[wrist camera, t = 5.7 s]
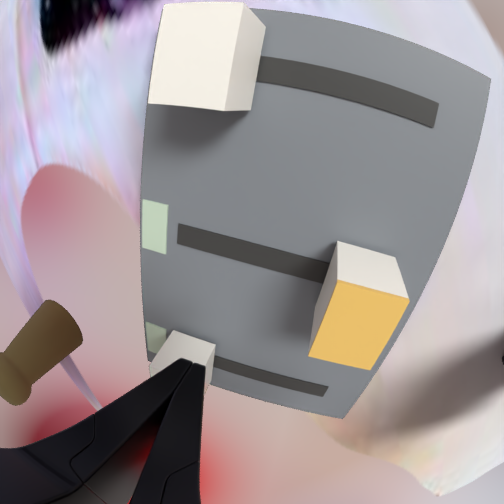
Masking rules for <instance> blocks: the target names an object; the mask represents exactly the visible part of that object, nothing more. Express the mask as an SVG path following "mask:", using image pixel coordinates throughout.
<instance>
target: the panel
mask: <svg viewBox="0 0 504 504" xmlns="http://www.w3.org/2000/svg"><path fill="white" fill-rule="evenodd" d="M250 10H251V11H252V12H253V13H254V14H255V15H256V16H257V17H258V18H259V20H260V21H261V22H262V23H263V24H264V25H265V26H266V29H265V35H264V40H263V45H262V50H261V56H260V61H259V67H258V72H257V78H256V83H255V89H254V94H253V100H252V106H251V110H239V111H220V110H213V109H205V108H196V107H187V106H176V105H164V104H150V103H148V99H147V108H146V118H145V129H144V141H143V155H142V173H141V202H140V248H141V249H140V252H141V282H142V300H143V315H144V328H145V338H146V348H147V357H148V361H150V362H152V361H153V359H154V358H155V356H156V355H157V353H158V352H159V350H160V349H161V347H162V346H163V344H164V343H165V342H166V340H167V339H168V337H169V336H170V334H171V333H172V331H173V330H175V331H178V332H181V333H183V334H186V335H189V336H192V337H195V338H198V339H201V340H204V341H207V342H210V343H213V344H216V346H215V354H214V362H213V370H212V379H211V382H210V384H211V385H213V386H216V387H220V388H222V389H226V390H229V391H232V392H235V393H238V394H242V395H245V396H248V397H252V398H255V399H259V400H263V401H266V402H270V403H274V404H277V405H281V406H285V407H289V408H294V409H298V410H302V411H306V412H311V413H315V414H320V415H325V416H330V417H335V418H341V419H343V418H344V417H345V416H346V414H347V413H348V412H349V410H350V409H351V408H352V406H353V405H354V403H355V402H356V401H357V399H358V398H359V397H360V395H361V394H362V392H363V391H364V389H365V388H366V387H367V385H368V384H369V382H370V381H371V379H372V378H373V376H374V375H375V373H376V372H377V370H378V369H379V367H380V366H381V364H382V362H383V361H384V359H385V358H386V356H387V355H388V353H389V351H390V350H391V348H392V346H393V345H394V343H395V341H396V340H397V338H398V336H399V335H400V333H401V331H402V329H403V328H404V326H405V324H406V322H407V320H408V319H409V317H410V315H411V313H412V311H413V309H414V308H415V306H416V304H417V302H418V300H419V298H420V296H421V294H422V292H423V290H424V288H425V286H426V284H427V282H428V280H429V278H430V276H431V274H432V271H433V269H434V267H435V265H436V263H437V260H438V258H439V256H440V254H441V251H442V249H443V247H444V244H445V242H446V240H447V237H448V235H449V232H450V230H451V227H452V224H453V222H454V219H455V217H456V214H457V211H458V208H459V206H460V203H461V200H462V197H463V194H464V191H465V188H466V185H467V182H468V179H469V175H470V172H471V169H472V165H473V162H474V158H475V154H476V151H477V147H478V143H479V139H480V135H481V130H482V126H483V121H484V117H485V112H486V107H487V101H488V95H489V89H490V83H491V78H489V77H487V76H485V75H483V74H482V73H480V72H478V71H476V70H474V69H472V68H470V67H468V66H466V65H464V64H462V63H460V62H458V61H456V60H454V59H451V58H449V57H447V56H445V55H442V54H440V53H438V52H435V51H433V50H431V49H428V48H426V47H423V46H421V45H418V44H415V43H413V42H410V41H407V40H404V39H401V38H398V37H395V36H392V35H389V34H386V33H383V32H380V31H376V30H373V29H369V28H366V27H362V26H358V25H354V24H350V23H346V22H342V21H337V20H332V19H328V18H322V17H317V16H311V15H305V14H299V13H292V12H284V11H276V10H266V9H253V8H250ZM162 12H163V9H162ZM161 17H162V13H161ZM160 22H161V18H160ZM159 27H160V23H159ZM158 32H159V28H158ZM157 38H158V33H157ZM156 43H157V39H156ZM155 49H156V44H155ZM154 55H155V50H154ZM153 61H154V56H153ZM152 68H153V63H152ZM151 74H152V69H151ZM150 82H151V76H150ZM149 89H150V83H149ZM148 97H149V91H148ZM337 241H340V242H344V243H347V244H351V245H354V246H358V247H362V248H365V249H369V250H372V251H376V252H379V253H382V254H386V255H389V256H393V257H395V258H396V261H397V264H398V267H399V270H400V273H401V276H402V279H403V282H404V285H405V288H406V291H407V294H408V298H409V301H410V302H409V304H408V306H407V307H406V309H405V311H404V313H403V315H402V317H401V319H400V321H399V322H398V324H397V326H396V328H395V330H394V331H393V333H392V335H391V337H390V339H389V340H388V342H387V344H386V345H385V347H384V349H383V350H382V352H381V354H380V355H379V357H378V359H377V360H376V362H375V364H374V365H373V367H372V368H371V370H366V369H361V368H356V367H352V366H347V365H343V364H338V363H334V362H330V361H326V360H321V359H317V358H313V357H309V356H308V352H309V346H310V339H311V332H312V326H313V318H314V311H315V306H316V303H317V300H318V297H319V295H320V292H321V289H322V286H323V283H324V280H325V277H326V274H327V271H328V268H329V265H330V262H331V259H332V256H333V253H334V250H335V247H336V244H337Z"/></svg>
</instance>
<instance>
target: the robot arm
mask: <svg viewBox="0 0 504 504" xmlns="http://www.w3.org/2000/svg"><path fill="white" fill-rule="evenodd" d="M502 362H503V365H504V356H503V358H502ZM205 374H206V366H204V365H201V364H198V363H193V362H192V361H190V360H187V359H184V358H179V359H178V360H176V361H175V362H173V363H172V364H170V365H169V366H167V367H166V368H164V369H163V370H161V371H160V372H158V373H157V374H155V375H154V376H152V377H151V378H149V379H148V380H146V381H144V382H143V383H141V384H140V385H138V386H137V387H135V388H134V389H132V390H131V391H129V392H127V393H126V394H124V395H123V396H121V397H120V398H118V399H116V400H115V401H113V402H112V403H110V404H109V405H107V406H105V407H104V408H102V409H100V410H99V411H97V412H96V413H95V415H94V414H92V415H90V416H89V417H87V418H86V419H84V420H82V421H80V422H79V423H77V424H75V425H73V426H71V427H69V428H67V429H65V430H63V431H61V432H58V433H56V434H54V435H51V436H49V437H47V438H44V439H42V440H39V441H37V442H34V443H32V444H29V445H26V446H23V447H18V448H0V504H127V503H128V502H129V500H130V498H131V497H132V498H131V500H130V503H129V504H201V499H200V484H199V483H200V481H199V480H200V479H199V475H200V450H201V432H202V415H203V401H204V387H205Z"/></svg>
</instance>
